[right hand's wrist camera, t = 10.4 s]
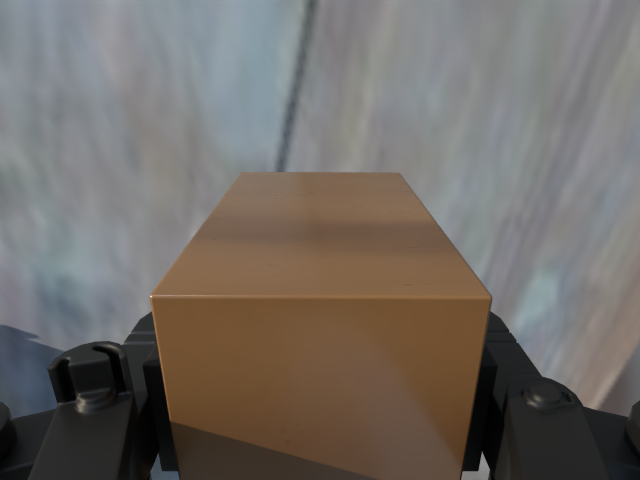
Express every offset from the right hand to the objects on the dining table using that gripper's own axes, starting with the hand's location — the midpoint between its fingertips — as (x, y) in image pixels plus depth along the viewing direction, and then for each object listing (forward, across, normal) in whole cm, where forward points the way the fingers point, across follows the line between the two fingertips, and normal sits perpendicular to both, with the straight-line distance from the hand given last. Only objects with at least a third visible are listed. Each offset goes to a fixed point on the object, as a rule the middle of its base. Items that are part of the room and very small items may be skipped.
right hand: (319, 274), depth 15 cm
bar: (+1, 0, -11) cm, 11 cm away
